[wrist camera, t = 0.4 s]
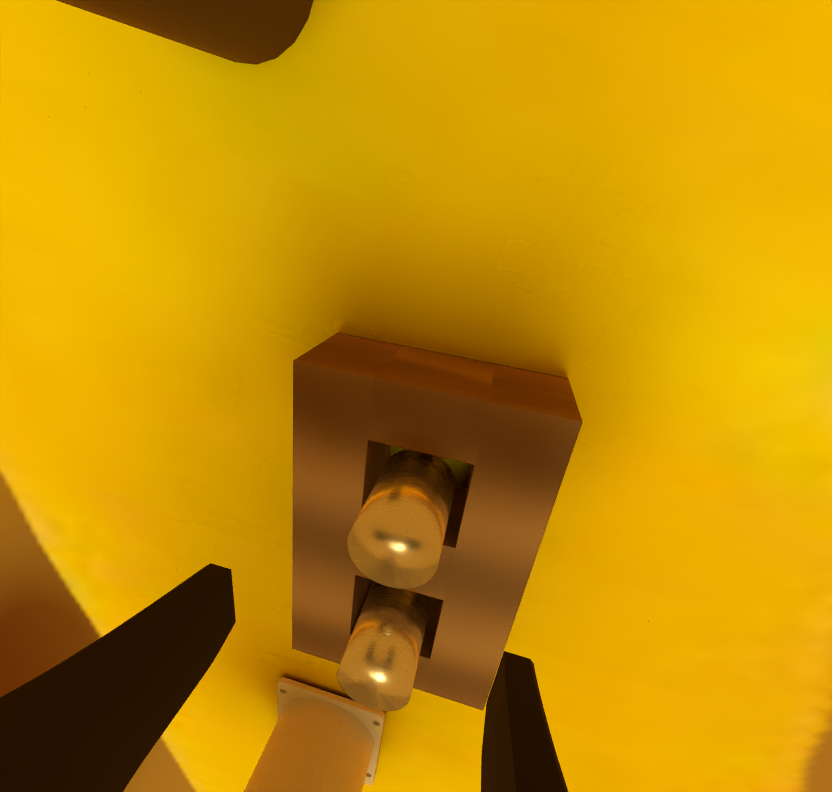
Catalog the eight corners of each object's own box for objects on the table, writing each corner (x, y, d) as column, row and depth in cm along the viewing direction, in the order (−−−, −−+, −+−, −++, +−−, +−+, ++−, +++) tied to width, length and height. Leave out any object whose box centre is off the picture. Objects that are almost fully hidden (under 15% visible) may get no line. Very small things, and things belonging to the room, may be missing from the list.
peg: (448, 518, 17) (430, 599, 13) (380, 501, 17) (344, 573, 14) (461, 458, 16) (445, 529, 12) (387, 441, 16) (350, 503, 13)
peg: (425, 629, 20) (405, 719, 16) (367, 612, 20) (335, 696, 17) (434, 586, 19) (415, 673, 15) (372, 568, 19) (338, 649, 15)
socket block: (488, 635, 23) (482, 710, 20) (324, 586, 25) (292, 648, 21) (568, 378, 17) (582, 421, 13) (337, 332, 18) (293, 360, 14)
